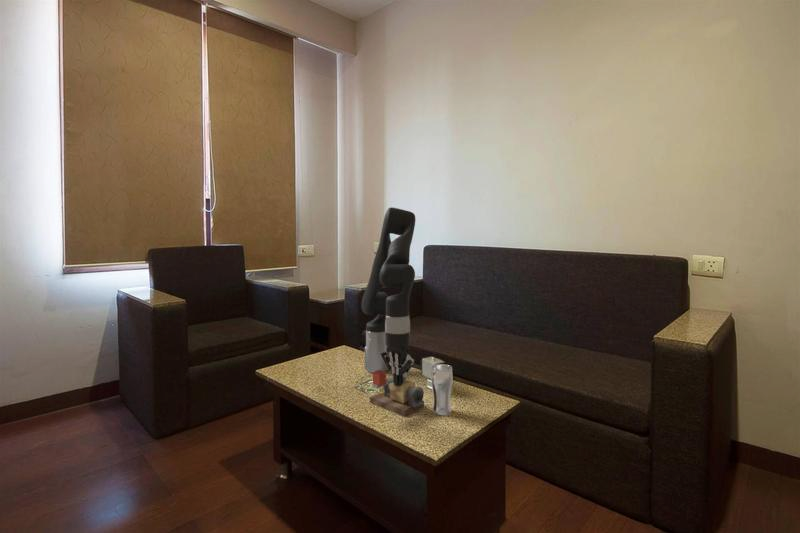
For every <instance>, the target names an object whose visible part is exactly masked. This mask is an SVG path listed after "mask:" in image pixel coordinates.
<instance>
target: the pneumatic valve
mask: <svg viewBox="0 0 800 533" xmlns="http://www.w3.org/2000/svg"><path fill="white" fill-rule="evenodd" d="M437 364H446V365H447V362H446V361H443V360H442V359H440V358H436V357H434V356H426V357H422V358H420V362H419V368H420V374H421V375H422V376H425V377H427V378H428V379H426V384H427V385H426V388H427V389H429V390H432V384H431V374H432V366H433V365H437Z"/></svg>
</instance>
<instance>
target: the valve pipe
mask: <svg viewBox="0 0 800 533" xmlns="http://www.w3.org/2000/svg"><path fill="white" fill-rule="evenodd" d="M390 377H391V376H389V377H387V378H390ZM382 389H383V391H382V392H379V393H377V394H374V395H372V396H370V397H369V403H370V404H372V405H375V406H377V407H380V408H382V409H384V410H387V411H389V412H392V413H395V414H396V415H399V416H402V417H406V416H408V415H410V414H412V413H415V412H416V411H418V410H421V409H423V408H424V407H425V401H424V400H423V398H424V395H425V394H424V389H423V387H421V386H416V380H413V379H410V378H407V379H403V384H402V385H401V386H399V387H397V386H395V385H394V383H390V384H387V385H385V386H382Z"/></svg>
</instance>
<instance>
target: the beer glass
mask: <svg viewBox="0 0 800 533" xmlns="http://www.w3.org/2000/svg"><path fill="white" fill-rule="evenodd" d="M430 379H431V384H432V395H433V396H432V397H433V404H432V405H433V407H432V413H433V414H434V415H437V416H448V415H450V414H452V409H451V408H452V407H451V395H452V390H453V379H454V378H453V366H452V365H449V364H447V363H446V364H437V365H433V366H432V374H431V378H430Z"/></svg>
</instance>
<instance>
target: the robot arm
mask: <svg viewBox="0 0 800 533" xmlns="http://www.w3.org/2000/svg"><path fill="white" fill-rule="evenodd" d="M415 226H416V215H415V213H414V212H412V211H409V210H406V209H401V208H397V207H388V208H387V210H386V212H385V214H384V217H383V222H382V227H381V231H380V232H381V233H380V237H379V241H378V242H379V243H378V245H377V246H378V247H377V250H376V253H375V256H374V259H373V264H372V268H371V273H370V276H369V279H368V282H367V285H366V287H365V290H364V293H363V296H362V300H361V311H362V312H363V314H365V315H367V316H375V315H376V316H375V317H374V319H372V320H370V321H368V322H367V323H366V324H365V346H364V370H366V371H367V372H368V373H372V374H373V372H375V371H378V370H381V371H384V372H387V371H391V373H392V376H393V383H394V385H395V386H397V387H399V386H401V385H402V384H403V374H404V373H407V374H408V373H409V372H410V370H411V369H412V368H413V366H414V364H415V363H416V360H417V359H416V358H412V357H411V353H410V349H409V347H410V346H411V320H410V319H411V318H410V298H411V293H412V288H413V285H414V282H415V278H416V271H415V269H414V267H413V265H411V264H410V256H411V254H410V253H411V252H410V250H411V246H412V241H413V237H414V231H415V228H416V227H415ZM391 234H393V235H398V237H396V238H395V239H393V240H392V239H391ZM391 240H392V241H391ZM383 288H391V289H392V288H394V289H395V288H397V289H398V288H399V289H400V288H401V289H402V291H400V293H396V294H392V295H388V294H387V293H386V292H384V291H381V290H382V289H383Z"/></svg>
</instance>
